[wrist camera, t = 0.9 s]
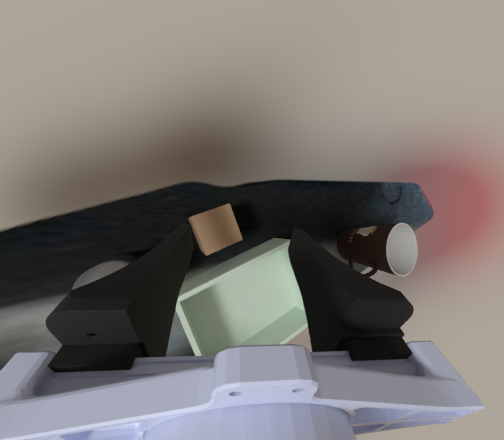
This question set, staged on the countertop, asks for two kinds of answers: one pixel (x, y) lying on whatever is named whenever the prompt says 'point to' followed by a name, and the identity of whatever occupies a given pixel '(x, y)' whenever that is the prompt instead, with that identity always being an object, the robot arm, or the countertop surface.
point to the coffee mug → (380, 248)
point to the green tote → (243, 301)
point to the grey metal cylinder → (105, 269)
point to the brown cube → (215, 229)
